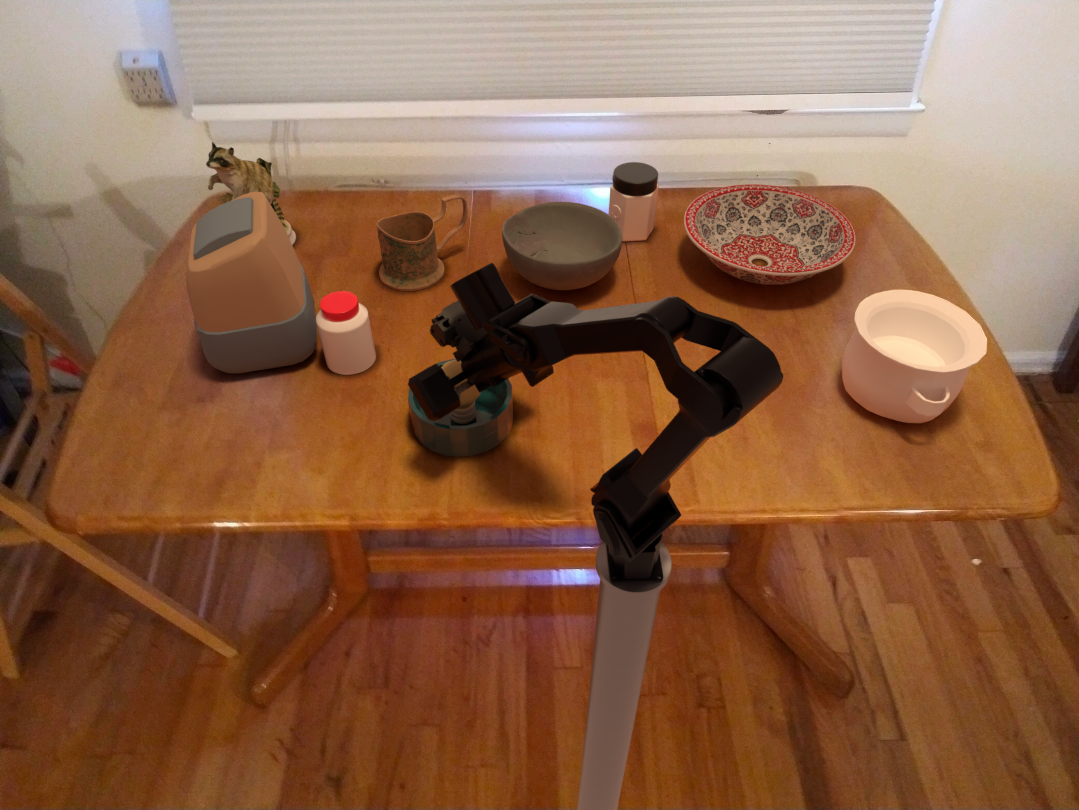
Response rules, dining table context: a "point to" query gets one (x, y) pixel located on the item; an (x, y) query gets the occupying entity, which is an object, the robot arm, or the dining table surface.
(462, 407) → the light bulb
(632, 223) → the jar
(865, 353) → the pot
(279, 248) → the trash can
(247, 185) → the figurine
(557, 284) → the bowl
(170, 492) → the dining table surface
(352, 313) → the pill bottle
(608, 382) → the dining table surface
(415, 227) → the mug
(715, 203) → the ceramic bowl
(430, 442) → the round teal dish
